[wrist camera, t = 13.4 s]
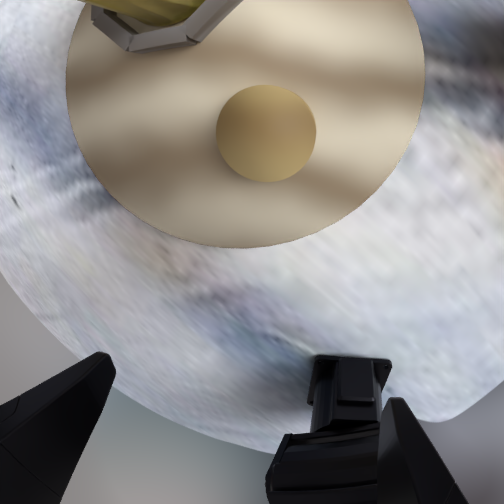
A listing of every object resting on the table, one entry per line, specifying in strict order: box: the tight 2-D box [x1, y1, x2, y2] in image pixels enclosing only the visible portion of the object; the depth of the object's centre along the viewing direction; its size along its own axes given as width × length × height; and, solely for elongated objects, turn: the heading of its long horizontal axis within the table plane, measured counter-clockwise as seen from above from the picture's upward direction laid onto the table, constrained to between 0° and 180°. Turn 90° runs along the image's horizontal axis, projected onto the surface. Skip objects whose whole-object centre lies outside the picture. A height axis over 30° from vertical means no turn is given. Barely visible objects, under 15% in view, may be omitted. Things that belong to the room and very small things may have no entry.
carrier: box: [66, 0, 425, 248], centre depth 15 cm, size 23×23×3 cm
